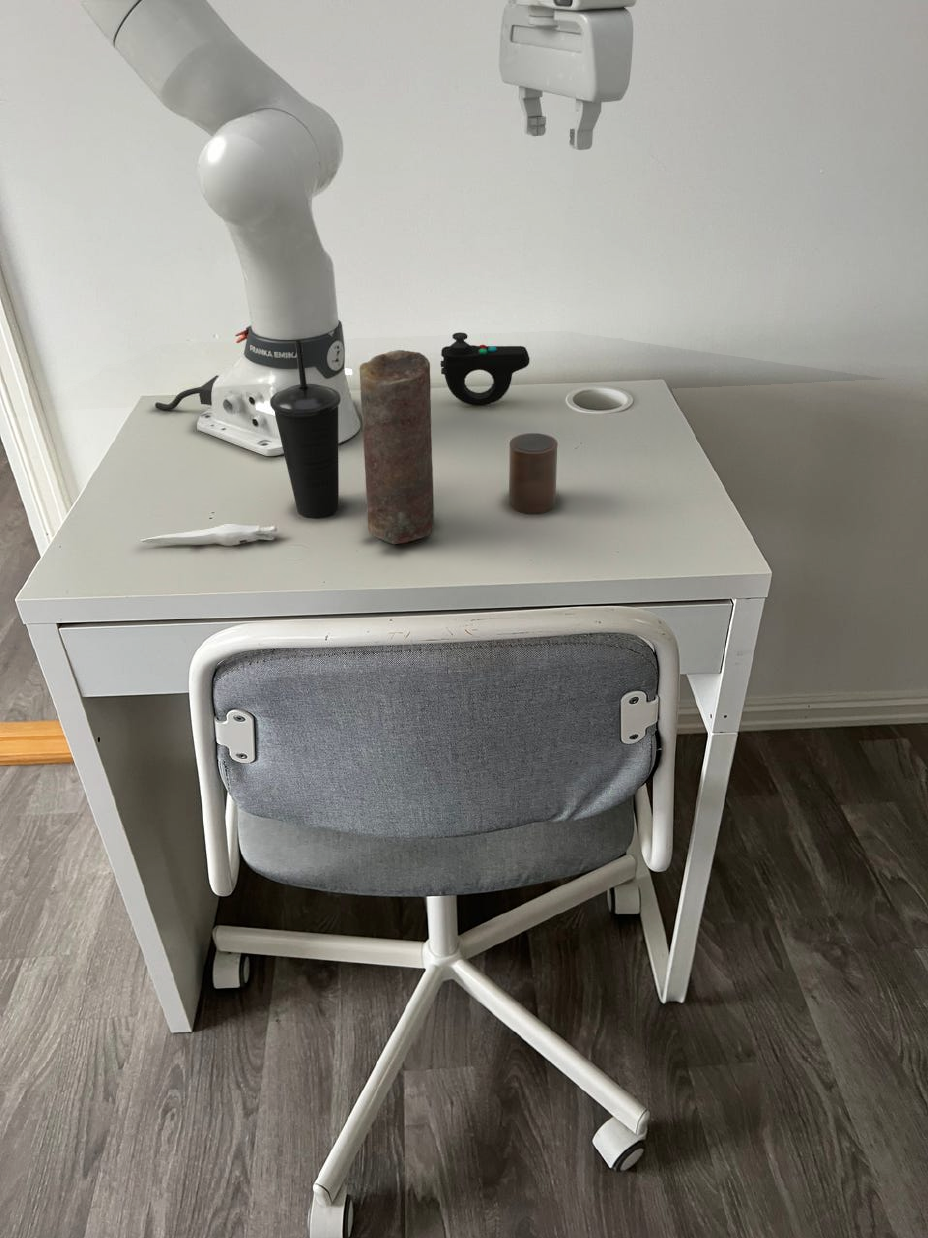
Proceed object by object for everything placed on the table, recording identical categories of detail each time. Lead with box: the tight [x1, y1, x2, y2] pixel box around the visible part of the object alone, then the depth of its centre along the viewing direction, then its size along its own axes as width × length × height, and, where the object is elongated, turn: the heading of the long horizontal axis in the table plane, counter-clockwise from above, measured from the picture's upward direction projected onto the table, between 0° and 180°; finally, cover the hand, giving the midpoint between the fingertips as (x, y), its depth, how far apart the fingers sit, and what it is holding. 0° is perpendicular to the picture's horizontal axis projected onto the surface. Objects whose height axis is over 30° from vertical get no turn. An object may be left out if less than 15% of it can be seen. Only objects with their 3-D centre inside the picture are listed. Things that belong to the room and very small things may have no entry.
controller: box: [439, 332, 531, 407], centre depth 136 cm, size 4×12×10 cm, turn 90°
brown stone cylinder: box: [358, 349, 435, 545], centre depth 103 cm, size 8×7×20 cm
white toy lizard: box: [139, 523, 278, 547], centre depth 108 cm, size 15×3×2 cm, turn 96°
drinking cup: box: [270, 340, 341, 519], centre depth 109 cm, size 8×8×20 cm
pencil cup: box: [508, 432, 558, 515], centre depth 112 cm, size 5×5×8 cm
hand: (557, 141), depth 102 cm, fingers open, 8 cm apart
